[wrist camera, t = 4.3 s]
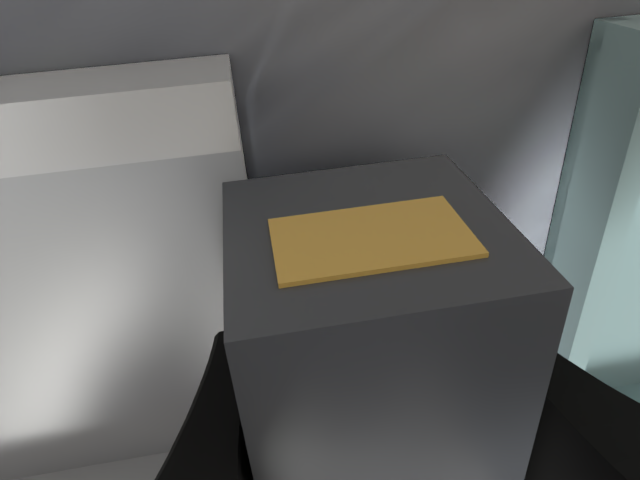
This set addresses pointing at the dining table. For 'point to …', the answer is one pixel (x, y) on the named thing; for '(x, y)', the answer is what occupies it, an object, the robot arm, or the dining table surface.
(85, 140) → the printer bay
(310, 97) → the dining table surface
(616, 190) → the tray
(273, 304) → the grey rectangular block
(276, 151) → the dining table surface
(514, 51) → the dining table surface
